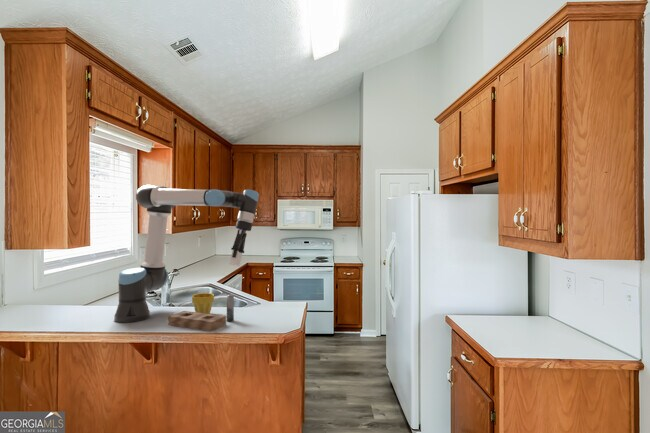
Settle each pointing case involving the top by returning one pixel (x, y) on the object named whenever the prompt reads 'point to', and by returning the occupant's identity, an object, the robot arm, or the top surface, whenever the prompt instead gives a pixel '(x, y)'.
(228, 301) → the metal pin
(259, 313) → the top surface
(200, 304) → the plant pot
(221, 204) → the robot arm
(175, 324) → the walnut block
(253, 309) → the top surface
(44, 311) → the top surface
